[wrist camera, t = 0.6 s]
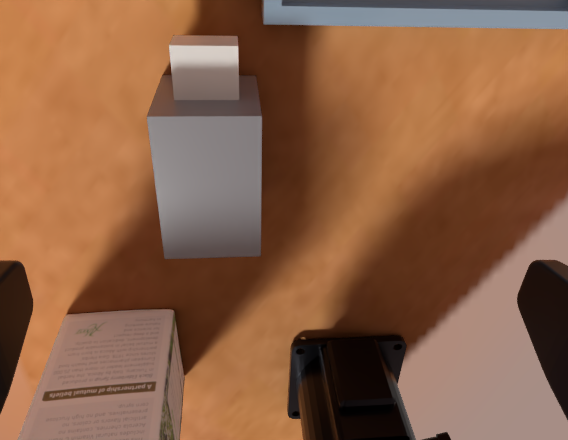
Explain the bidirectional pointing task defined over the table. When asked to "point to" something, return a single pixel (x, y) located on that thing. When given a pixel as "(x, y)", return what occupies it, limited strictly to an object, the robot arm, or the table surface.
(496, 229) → the table surface
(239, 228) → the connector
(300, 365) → the robot arm
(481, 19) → the dish
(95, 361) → the syrup box
